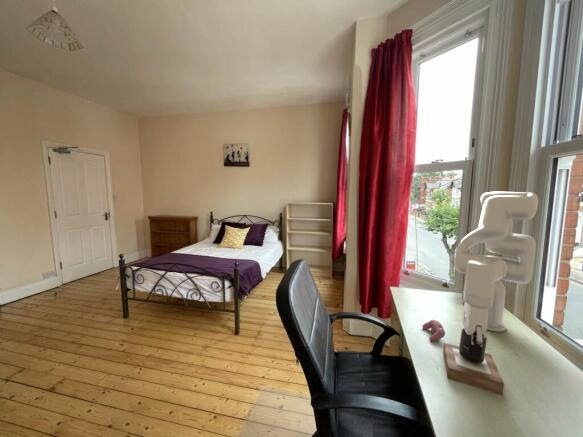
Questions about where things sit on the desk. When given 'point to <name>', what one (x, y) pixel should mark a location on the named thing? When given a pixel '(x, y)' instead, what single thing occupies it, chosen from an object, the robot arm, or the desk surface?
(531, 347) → the desk surface
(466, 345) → the supplement bottle
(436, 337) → the video game controller
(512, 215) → the robot arm
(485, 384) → the brown picture frame
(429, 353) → the desk surface
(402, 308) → the desk surface
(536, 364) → the desk surface
